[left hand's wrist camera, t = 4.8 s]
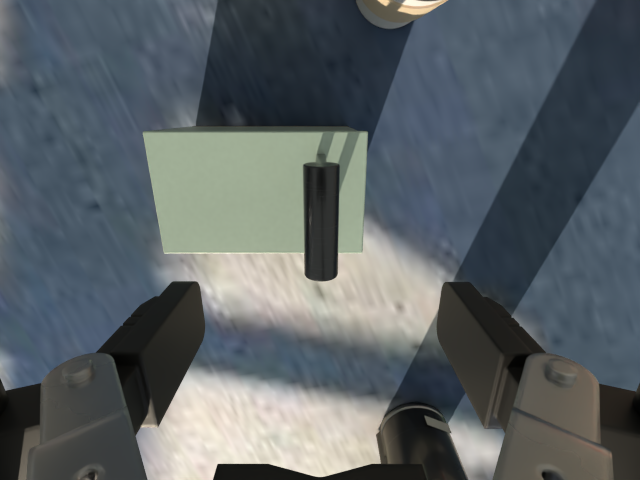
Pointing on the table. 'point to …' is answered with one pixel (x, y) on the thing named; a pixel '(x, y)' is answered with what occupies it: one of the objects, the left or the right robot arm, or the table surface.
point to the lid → (261, 193)
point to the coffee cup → (395, 11)
